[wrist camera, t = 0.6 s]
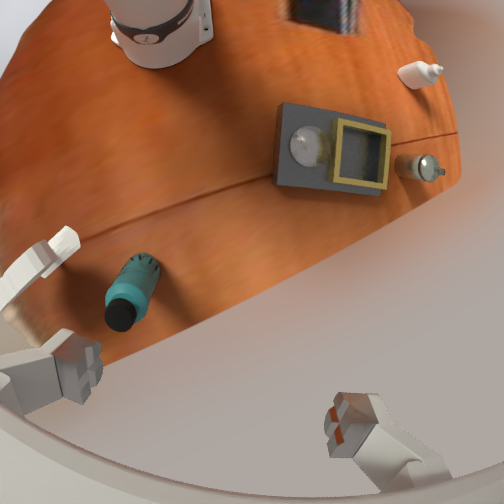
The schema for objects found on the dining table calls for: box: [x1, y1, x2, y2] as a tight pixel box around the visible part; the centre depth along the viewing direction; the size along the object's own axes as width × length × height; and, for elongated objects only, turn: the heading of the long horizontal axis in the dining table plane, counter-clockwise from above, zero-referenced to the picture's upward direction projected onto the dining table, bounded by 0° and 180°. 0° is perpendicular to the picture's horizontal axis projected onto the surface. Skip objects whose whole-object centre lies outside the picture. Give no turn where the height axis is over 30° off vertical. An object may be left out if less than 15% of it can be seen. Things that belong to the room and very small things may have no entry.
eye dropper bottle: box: [397, 61, 443, 90], centre depth 44 cm, size 4×6×12 cm
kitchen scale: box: [272, 102, 391, 197], centre depth 49 cm, size 20×14×6 cm
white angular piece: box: [0, 226, 80, 312], centre depth 40 cm, size 16×5×18 cm, turn 121°
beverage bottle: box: [105, 253, 161, 332], centre depth 43 cm, size 6×7×20 cm
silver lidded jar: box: [394, 155, 445, 182], centre depth 51 cm, size 5×7×9 cm
